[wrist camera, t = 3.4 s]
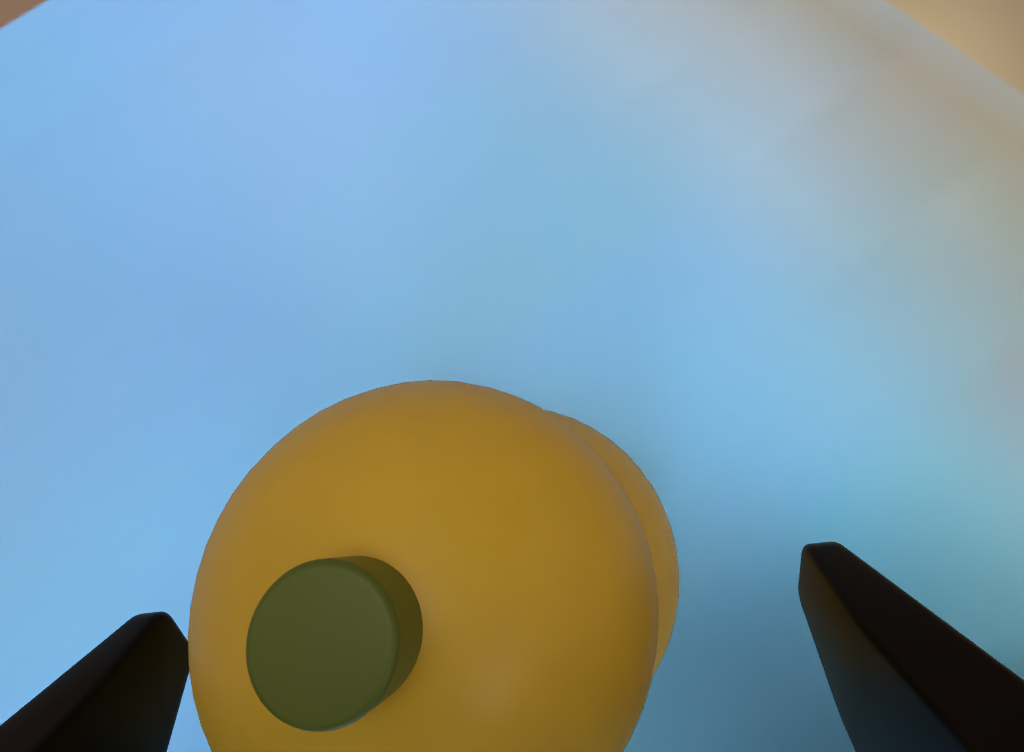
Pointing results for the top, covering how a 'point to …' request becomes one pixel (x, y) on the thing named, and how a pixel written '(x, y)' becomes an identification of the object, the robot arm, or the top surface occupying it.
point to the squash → (433, 583)
